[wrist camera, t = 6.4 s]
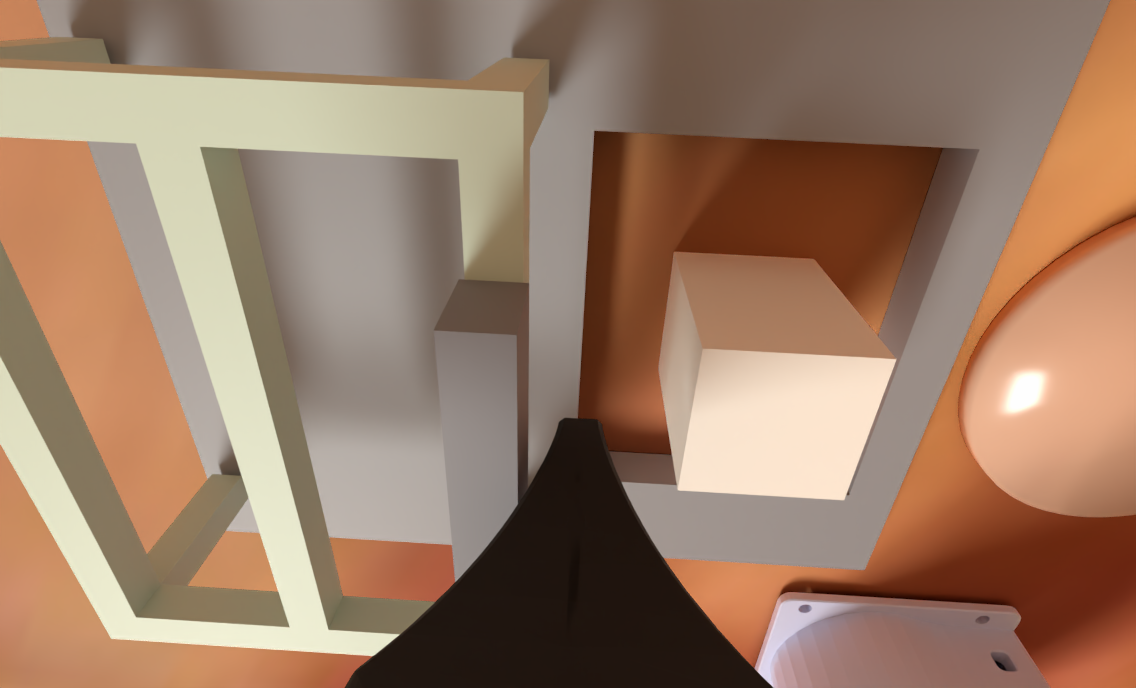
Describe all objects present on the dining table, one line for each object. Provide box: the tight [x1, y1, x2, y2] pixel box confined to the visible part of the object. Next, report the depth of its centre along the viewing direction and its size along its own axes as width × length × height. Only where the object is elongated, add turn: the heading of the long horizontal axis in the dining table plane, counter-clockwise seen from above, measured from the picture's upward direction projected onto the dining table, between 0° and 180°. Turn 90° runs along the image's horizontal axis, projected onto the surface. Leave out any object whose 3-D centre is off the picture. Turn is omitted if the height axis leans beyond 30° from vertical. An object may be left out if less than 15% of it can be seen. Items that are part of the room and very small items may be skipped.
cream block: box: [658, 252, 897, 500], centre depth 16 cm, size 4×4×6 cm
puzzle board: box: [37, 0, 1110, 570], centre depth 17 cm, size 23×18×2 cm
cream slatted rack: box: [0, 37, 549, 656], centre depth 14 cm, size 11×14×7 cm
